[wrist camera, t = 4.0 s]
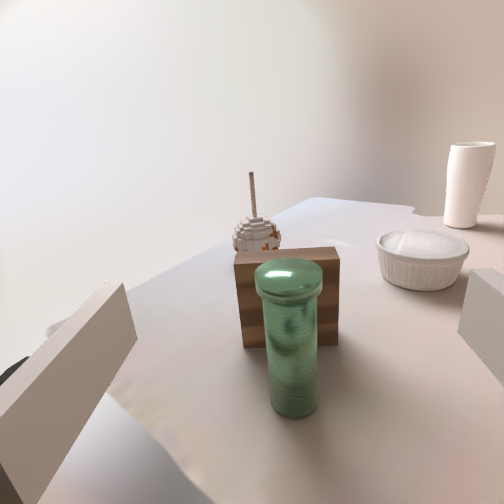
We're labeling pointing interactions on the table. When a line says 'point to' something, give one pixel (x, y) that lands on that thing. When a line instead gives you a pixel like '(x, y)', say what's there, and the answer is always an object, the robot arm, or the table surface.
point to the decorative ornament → (256, 230)
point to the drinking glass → (467, 182)
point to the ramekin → (421, 258)
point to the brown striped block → (253, 302)
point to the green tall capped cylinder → (291, 331)
